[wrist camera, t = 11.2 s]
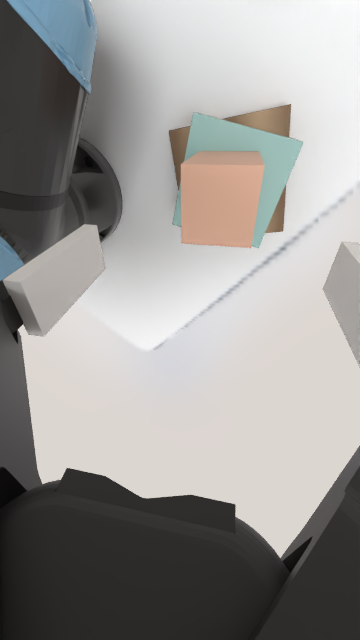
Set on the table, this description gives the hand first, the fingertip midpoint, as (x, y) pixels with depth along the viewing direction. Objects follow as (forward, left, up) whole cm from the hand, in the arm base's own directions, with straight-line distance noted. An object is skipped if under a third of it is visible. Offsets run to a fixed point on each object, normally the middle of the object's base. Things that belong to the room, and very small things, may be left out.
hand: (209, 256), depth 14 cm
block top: (0, 0, -22) cm, 22 cm away
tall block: (0, 0, -18) cm, 18 cm away
